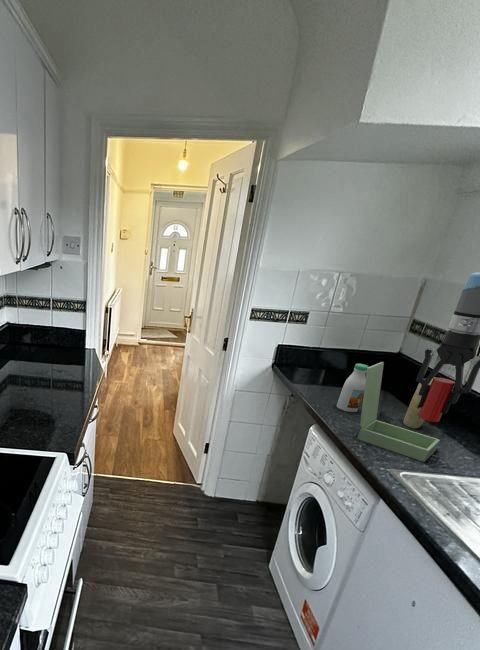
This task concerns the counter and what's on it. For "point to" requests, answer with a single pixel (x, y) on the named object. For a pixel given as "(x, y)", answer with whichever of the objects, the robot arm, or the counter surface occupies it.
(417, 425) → the food model
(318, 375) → the counter surface
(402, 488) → the counter surface
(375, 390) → the lid
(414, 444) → the green open box
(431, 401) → the tin
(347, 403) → the milk bottle
